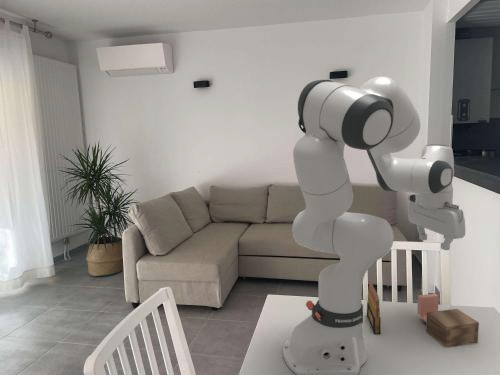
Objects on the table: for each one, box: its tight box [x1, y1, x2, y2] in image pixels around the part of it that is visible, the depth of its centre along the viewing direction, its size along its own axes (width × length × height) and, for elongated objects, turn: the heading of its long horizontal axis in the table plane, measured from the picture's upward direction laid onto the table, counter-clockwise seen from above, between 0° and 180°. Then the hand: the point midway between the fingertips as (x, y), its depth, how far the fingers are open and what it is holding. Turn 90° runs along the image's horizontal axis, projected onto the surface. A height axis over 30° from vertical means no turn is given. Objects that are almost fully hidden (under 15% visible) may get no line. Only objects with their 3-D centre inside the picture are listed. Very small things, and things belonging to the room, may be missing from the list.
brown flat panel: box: [366, 281, 382, 335], centre depth 107 cm, size 11×2×12 cm, turn 173°
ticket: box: [417, 293, 440, 323], centre depth 103 cm, size 6×14×7 cm, turn 10°
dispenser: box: [425, 308, 480, 348], centre depth 99 cm, size 10×8×6 cm
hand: (433, 244), depth 105 cm, fingers open, 8 cm apart
